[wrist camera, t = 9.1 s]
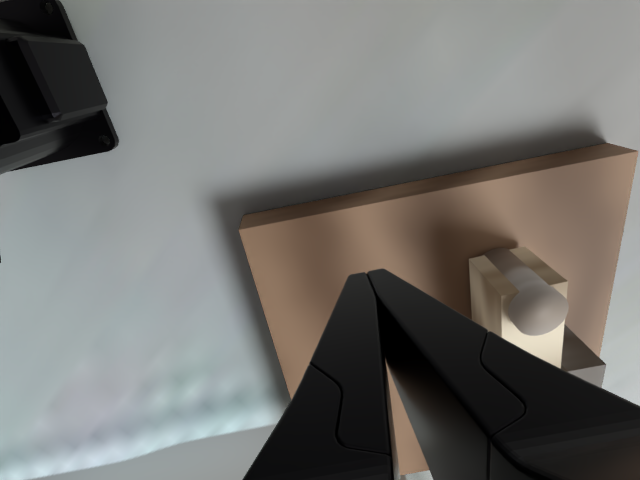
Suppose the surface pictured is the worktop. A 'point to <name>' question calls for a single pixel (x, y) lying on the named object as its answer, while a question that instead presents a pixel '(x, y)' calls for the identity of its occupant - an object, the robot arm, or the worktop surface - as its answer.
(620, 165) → the seat board
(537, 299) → the leg
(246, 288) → the worktop surface
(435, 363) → the robot arm
